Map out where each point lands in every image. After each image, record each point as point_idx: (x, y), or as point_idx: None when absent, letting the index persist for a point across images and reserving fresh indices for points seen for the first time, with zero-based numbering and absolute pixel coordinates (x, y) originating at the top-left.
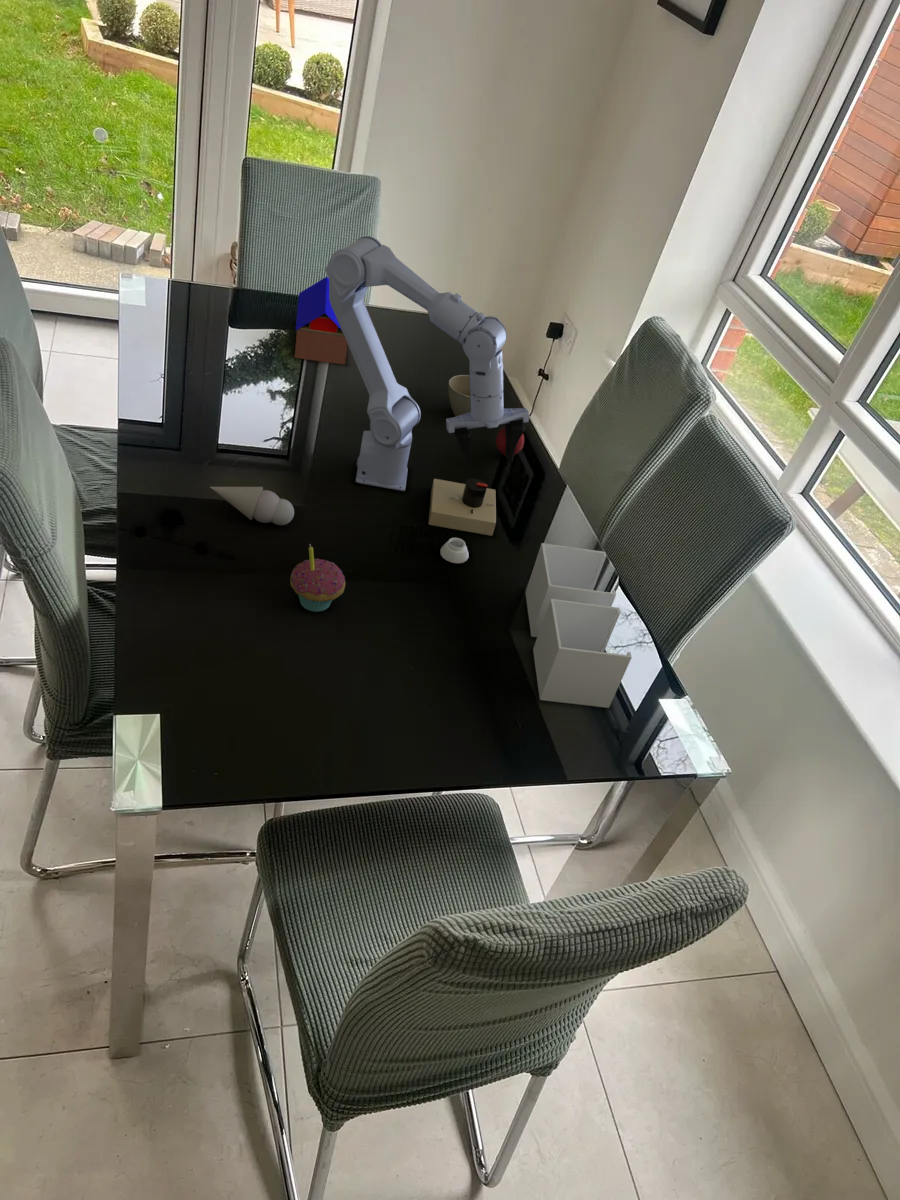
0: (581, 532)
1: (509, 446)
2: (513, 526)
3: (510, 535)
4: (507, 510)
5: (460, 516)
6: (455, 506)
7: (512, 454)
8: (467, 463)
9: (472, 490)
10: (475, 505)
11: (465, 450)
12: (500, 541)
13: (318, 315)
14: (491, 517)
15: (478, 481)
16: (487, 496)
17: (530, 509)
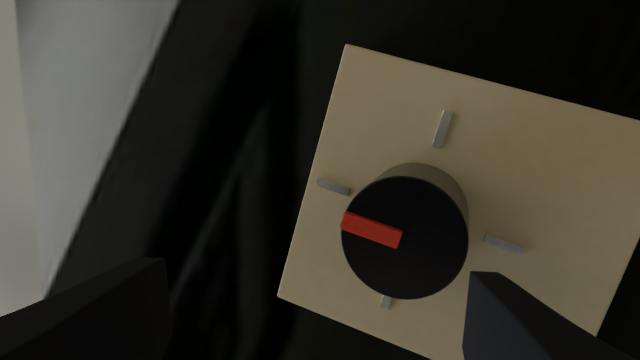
0: (32, 86)
1: (90, 341)
2: (256, 119)
3: (283, 60)
4: (252, 221)
5: (518, 91)
6: (518, 176)
7: (104, 277)
8: (519, 287)
9: (442, 189)
10: (415, 163)
11: (613, 358)
12: (336, 17)
13: None
14: (354, 86)
15: (380, 268)
16: (327, 249)
17: (167, 222)
